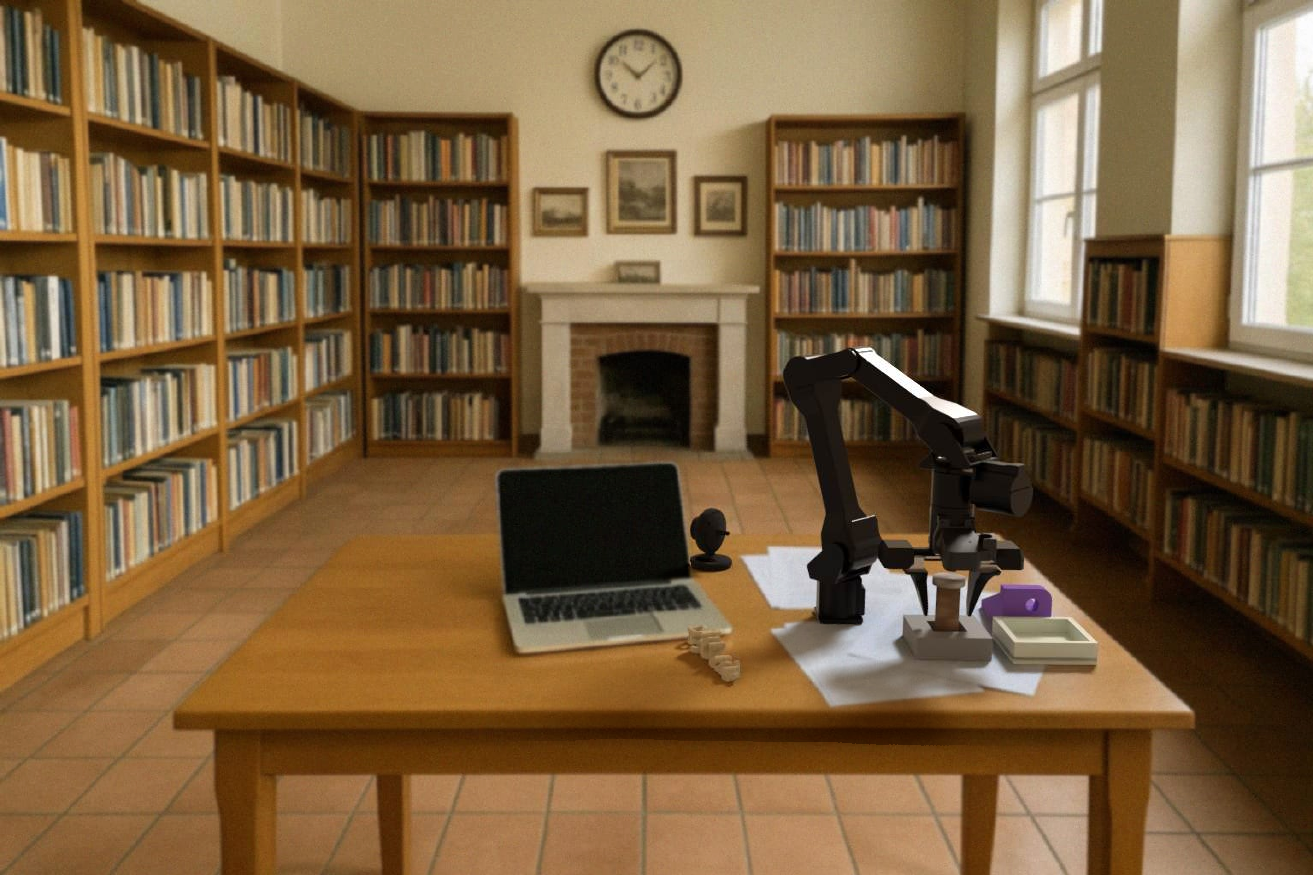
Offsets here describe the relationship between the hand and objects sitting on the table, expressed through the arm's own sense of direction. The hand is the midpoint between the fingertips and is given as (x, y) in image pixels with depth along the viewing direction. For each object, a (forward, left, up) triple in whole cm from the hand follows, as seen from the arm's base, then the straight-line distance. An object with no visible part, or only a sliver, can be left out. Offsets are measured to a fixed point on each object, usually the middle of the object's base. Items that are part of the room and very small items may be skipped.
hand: (947, 615), depth 168 cm
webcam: (-31, +41, -5) cm, 52 cm away
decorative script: (-32, -6, -5) cm, 33 cm away
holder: (0, 0, -4) cm, 4 cm away
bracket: (+13, +12, -5) cm, 19 cm away
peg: (0, 0, -4) cm, 4 cm away
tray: (+13, -1, -4) cm, 14 cm away
